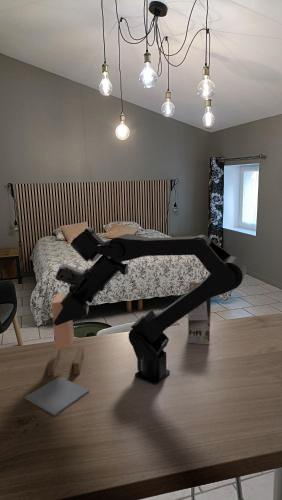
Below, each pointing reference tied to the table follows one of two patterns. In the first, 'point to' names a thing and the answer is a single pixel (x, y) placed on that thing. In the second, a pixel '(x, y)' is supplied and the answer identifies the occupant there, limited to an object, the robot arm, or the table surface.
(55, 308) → the thick orange-brown block
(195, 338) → the coffee box
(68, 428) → the table surface
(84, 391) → the slate mat
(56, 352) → the slot holder
